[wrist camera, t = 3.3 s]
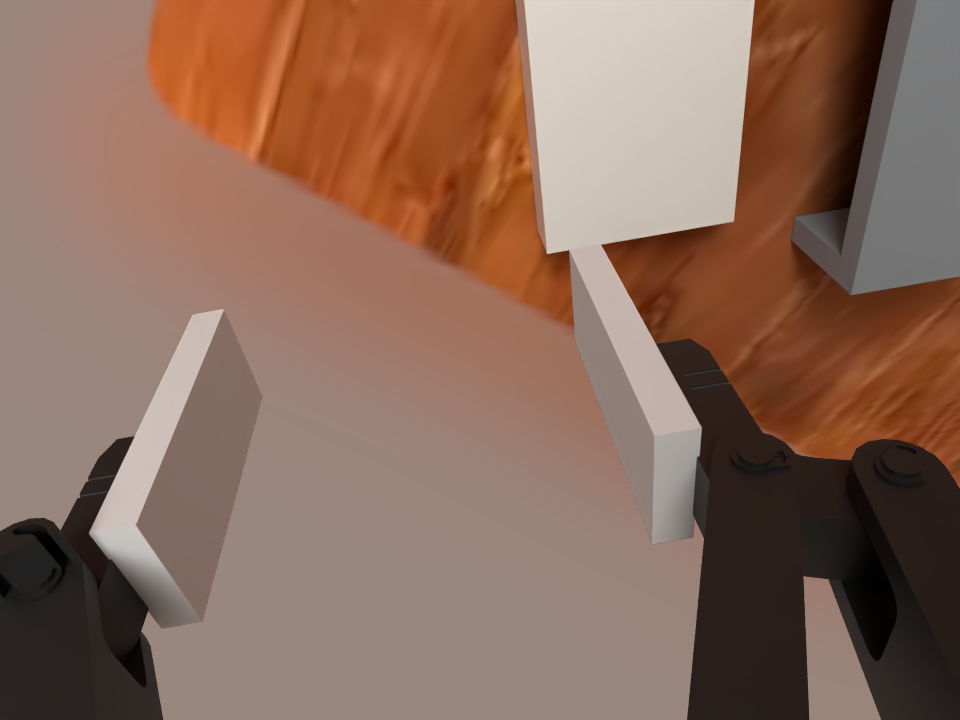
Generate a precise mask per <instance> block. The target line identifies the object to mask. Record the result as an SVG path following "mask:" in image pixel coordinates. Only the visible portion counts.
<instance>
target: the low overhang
mask: <svg viewBox="0 0 960 720" xmlns="http://www.w3.org/2000/svg"><path fill="white" fill-rule="evenodd" d="M791 241H793V242H794V243H795V244H796V245H797V246H798V247H799V248H800V249H801V250H802V251H803V252H804V253H806V254H807V255H808V256H809V257H810V258H811V259H812V260H813V261H814V262H815V263H816V264H818V265H819V266H820V267H821V268H822V269H823V270H824V271H825V272H826V273H827V274H828V275H829V276H831V277H832V278H833V279H834V280H835V281H836V282H837V283H838V284H839V285H840V286H841V287H842V288H844V289H845V290H846V291H847V292H848V293H849V294H850V295H856V294H862V293H867V292H873V291H879V290H885V289H890V288H896V287H902V286H908V285H914V284H919V283H925V282H931V281H937V280H942V279H948V278H954V277H960V0H893V4H892V9H891V13H890V18H889V23H888V28H887V33H886V38H885V43H884V48H883V52H882V57H881V62H880V67H879V72H878V77H877V82H876V87H875V91H874V96H873V101H872V106H871V111H870V116H869V121H868V126H867V130H866V135H865V140H864V145H863V150H862V155H861V160H860V165H859V169H858V174H857V179H856V184H855V189H854V194H853V199H852V204H851V207H849V208H844V209H838V210H832V211H826V212H821V213H815V214H809V215H803V216H798V217H795V218H794V225H793V231H792V238H791Z"/></svg>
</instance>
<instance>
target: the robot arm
mask: <svg viewBox="0 0 960 720" xmlns="http://www.w3.org/2000/svg"><path fill="white" fill-rule="evenodd" d="M569 256H570V271H571V286H572V300H573V315H574V330H575V343H576V345H577V348H578V350H579V353H580V356H581V358H582V361H583V364H584V366H585V369H586V371H587V374H588V377H589V379H590V382H591V385H592V387H593V390H594V393H595V395H596V398H597V401H598V403H599V406H600V408H601V411H602V413H603V416H604V419H605V422H606V424H607V427H608V429H609V432H610V435H611V437H612V440H613V443H614V445H615V448H616V451H617V453H618V456H619V459H620V461H621V464H622V466H623V469H624V472H625V474H626V477H627V480H628V482H629V485H630V487H631V490H632V493H633V495H634V498H635V501H636V503H637V506H638V509H639V511H640V514H641V517H642V519H643V522H644V524H645V527H646V530H647V532H648V535H649V538H650V540H651V543H652V544H657V543H664V542H670V541H676V540H681V539H687V538H693V532H694V520H695V519H696V522H697V524H698V526H699V528H700V531H701V533H702V535H703V537H704V545H703V556H702V566H701V577H700V588H699V598H698V610H697V620H696V630H695V642H694V652H693V663H692V674H691V685H690V695H689V707H688V717H687V720H809V701H808V677H807V653H806V629H805V606H804V605H805V604H804V582H803V581H804V580H803V576H806V577H815V578H823V579H829V582H830V585H831V587H832V590H833V593H834V595H835V598H836V600H837V603H838V606H839V609H840V611H841V614H842V617H843V619H844V622H845V625H846V627H847V630H848V632H849V635H850V638H851V640H852V643H853V646H854V648H855V651H856V654H857V656H858V659H859V662H860V664H861V667H862V670H863V672H864V675H865V678H866V680H867V683H868V686H869V688H870V691H871V694H872V696H873V699H874V702H875V704H876V707H877V710H878V712H879V715H880V718H881V720H960V488H959V487H958V485H957V483H956V482H955V480H954V479H953V477H952V476H951V474H950V472H949V471H948V469H947V468H946V467H945V465H944V464H943V463H942V462H941V461H940V460H939V459H938V458H937V457H936V456H935V455H933V454H932V453H930V452H928V451H926V450H925V449H923V448H921V447H920V446H917V445H913V444H910V443H907V442H904V441H900V440H888V439H881V440H875V441H869V442H866V443H865V444H863V445H862V446H860V447H858V448H857V449H856V451H855V453H854V455H853V457H852V460H837V459H823V458H813V457H806V456H801V455H798V454H795V452H794V451H793V450H792V449H791V448H790V447H789V446H788V445H787V444H786V443H785V442H783V441H781V440H779V439H778V438H776V437H774V436H772V435H769V434H764V433H763V432H762V431H761V430H760V428H759V427H758V425H757V423H756V422H755V420H754V419H753V417H752V416H751V414H750V413H749V411H748V410H747V408H746V407H745V405H744V404H743V402H742V401H741V399H740V398H739V396H738V394H737V393H736V391H735V390H734V388H733V387H732V385H731V384H729V382H728V379H727V378H726V376H725V375H724V373H723V372H722V371H720V367H719V366H718V364H717V362H716V361H715V359H714V358H713V356H712V355H711V353H710V352H709V351H708V350H707V349H705V348H703V347H702V346H700V345H699V344H697V343H696V342H694V341H693V340H691V339H684V340H679V341H673V342H667V343H661V344H655V342H654V340H653V338H652V336H651V335H650V333H649V331H648V329H647V327H646V326H645V324H644V322H643V320H642V318H641V317H640V315H639V313H638V311H637V309H636V307H635V306H634V304H633V302H632V300H631V298H630V297H629V295H628V293H627V291H626V289H625V287H624V286H623V284H622V282H621V280H620V278H619V277H618V275H617V273H616V271H615V269H614V267H613V266H612V264H611V262H610V260H609V258H608V257H607V255H606V253H605V251H604V249H603V248H602V246H601V244H596V245H591V246H585V247H579V248H573V249H569ZM261 400H262V394H261V392H260V389H259V387H258V385H257V383H256V380H255V378H254V376H253V374H252V371H251V369H250V367H249V364H248V362H247V360H246V358H245V355H244V353H243V351H242V349H241V346H240V344H239V342H238V339H237V337H236V335H235V333H234V331H233V329H232V326H231V323H230V321H229V319H228V317H227V314H226V312H225V310H224V309H222V310H217V311H211V312H205V313H199V314H194V315H193V316H192V318H191V320H190V322H189V324H188V326H187V328H186V330H185V333H184V335H183V337H182V339H181V341H180V343H179V345H178V347H177V349H176V352H175V353H174V356H173V358H172V360H171V362H170V364H169V366H168V368H167V370H166V372H165V374H164V377H163V379H162V381H161V383H160V385H159V387H158V389H157V391H156V393H155V396H154V398H153V400H152V402H151V404H150V406H149V408H148V410H147V412H146V414H145V416H144V419H143V421H142V423H141V425H140V427H139V429H138V431H137V433H136V435H135V436H133V437H127V438H122V439H117V440H116V441H115V442H114V443H113V444H112V445H111V446H110V447H109V448H108V449H107V450H106V451H105V452H104V453H103V454H102V455H101V456H100V457H99V458H98V460H97V462H96V464H95V466H94V468H93V469H92V471H91V473H90V475H89V477H88V480H89V481H88V482H86V483H85V485H84V487H83V489H82V491H81V493H80V498H78V499H77V500H76V502H75V504H74V506H73V508H72V510H71V512H70V514H69V516H68V518H67V519H66V521H65V523H64V525H63V527H62V529H61V531H60V530H59V528H58V527H57V526H56V525H55V523H54V522H52V521H50V520H47V519H45V518H34V519H27V520H25V521H21V522H18V523H15V524H12V525H11V526H9V527H7V528H5V529H3V530H2V531H0V720H163V716H162V711H161V705H160V699H159V693H158V687H157V681H156V676H155V670H154V664H153V658H152V652H151V646H150V645H149V642H148V640H147V638H146V637H145V636H144V634H143V633H142V632H141V630H142V626H143V624H144V621H145V618H146V615H147V612H148V611H149V613H150V614H151V615H152V616H153V618H154V619H155V621H156V622H157V623H158V624H159V625H160V627H161V628H162V629H163V628H169V627H174V626H180V625H186V624H192V623H198V622H202V621H203V618H204V614H205V610H206V606H207V603H208V598H209V595H210V592H211V588H212V584H213V580H214V576H215V572H216V569H217V565H218V561H219V557H220V553H221V550H222V546H223V542H224V539H225V535H226V531H227V528H228V524H229V520H230V516H231V513H232V509H233V505H234V501H235V497H236V494H237V490H238V486H239V483H240V479H241V475H242V471H243V468H244V464H245V460H246V456H247V452H248V449H249V445H250V441H251V437H252V433H253V430H254V426H255V423H256V419H257V415H258V411H259V407H260V404H261Z"/></svg>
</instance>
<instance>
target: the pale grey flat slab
mask: <svg viewBox="0 0 960 720" xmlns="http://www.w3.org/2000/svg"><path fill="white" fill-rule="evenodd" d="M754 1H755V0H515V2H516V12H517V22H518V33H519V43H520V53H521V63H522V74H523V84H524V94H525V105H526V115H527V125H528V135H529V146H530V156H531V166H532V176H533V187H534V197H535V207H536V218H537V228H538V232H539V234H540V237H541V240H542V242H543V245H544V247H545V250H546V252H547V254H550V253H556V252H561V251H567V250H569V249H573V248H579V247H585V246H591V245H596V244H601V245H602V244H608V243H613V242H619V241H625V240H631V239H636V238H642V237H648V236H654V235H659V234H665V233H671V232H677V231H682V230H688V229H694V228H700V227H705V226H711V225H717V224H723V223H728V222H734V214H735V203H736V192H737V182H738V171H739V161H740V150H741V139H742V129H743V118H744V107H745V97H746V86H747V76H748V65H749V54H750V44H751V33H752V23H753V12H754Z"/></svg>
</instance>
